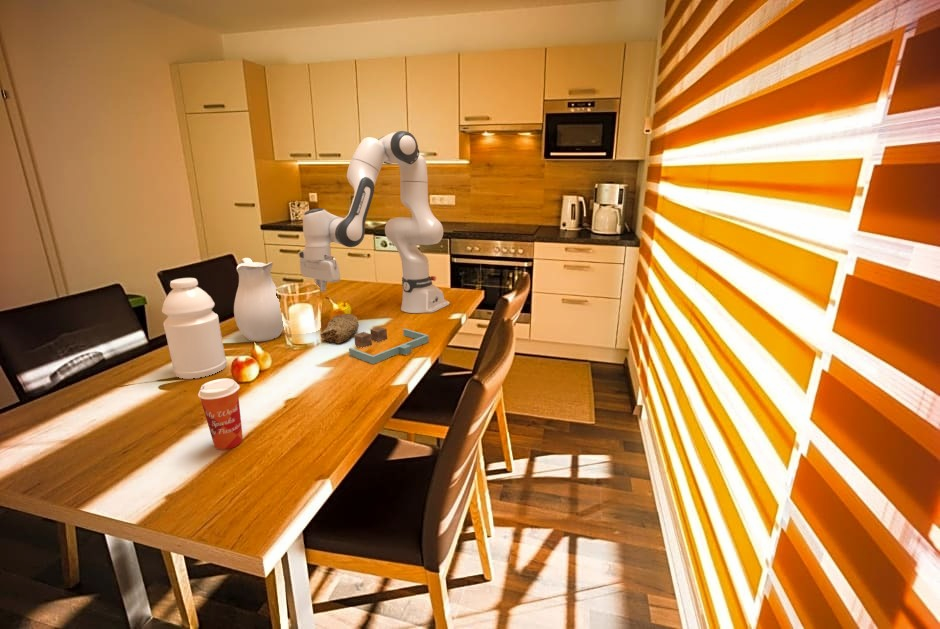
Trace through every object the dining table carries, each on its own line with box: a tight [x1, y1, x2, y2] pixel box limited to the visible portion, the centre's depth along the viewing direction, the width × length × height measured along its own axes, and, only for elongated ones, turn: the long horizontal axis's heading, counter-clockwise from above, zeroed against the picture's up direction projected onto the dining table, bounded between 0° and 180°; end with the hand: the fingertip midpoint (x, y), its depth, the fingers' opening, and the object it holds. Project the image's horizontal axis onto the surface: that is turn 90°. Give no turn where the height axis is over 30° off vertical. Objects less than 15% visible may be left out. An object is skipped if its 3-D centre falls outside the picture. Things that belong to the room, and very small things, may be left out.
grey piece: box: [348, 328, 430, 365], centre depth 153 cm, size 25×14×2 cm, turn 141°
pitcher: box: [233, 257, 284, 343], centre depth 166 cm, size 24×17×28 cm
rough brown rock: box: [320, 313, 359, 345], centre depth 167 cm, size 13×8×20 cm
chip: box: [353, 331, 373, 349], centre depth 157 cm, size 4×4×4 cm
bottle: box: [161, 277, 227, 380], centre depth 135 cm, size 14×14×28 cm
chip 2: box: [369, 326, 388, 343], centre depth 162 cm, size 4×4×4 cm
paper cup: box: [198, 378, 244, 451], centre depth 99 cm, size 8×8×14 cm
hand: (321, 290), depth 172 cm, fingers closed
